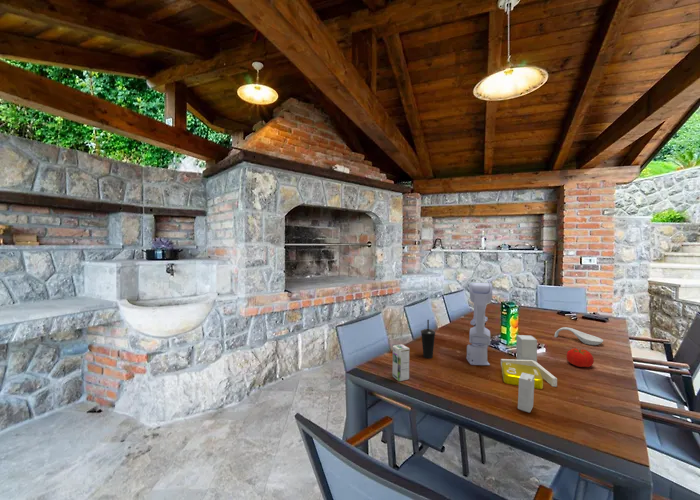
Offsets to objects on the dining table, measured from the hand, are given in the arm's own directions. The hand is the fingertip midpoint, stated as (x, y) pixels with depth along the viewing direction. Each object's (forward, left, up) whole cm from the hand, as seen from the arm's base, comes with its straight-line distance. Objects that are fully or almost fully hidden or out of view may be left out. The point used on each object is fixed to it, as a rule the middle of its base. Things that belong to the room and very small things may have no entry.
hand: (479, 335), depth 166 cm
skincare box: (0, -55, -10) cm, 56 cm away
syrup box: (-45, -35, -10) cm, 58 cm away
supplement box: (+20, -11, -10) cm, 25 cm away
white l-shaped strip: (+13, -27, -9) cm, 31 cm away
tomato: (+44, -13, -10) cm, 47 cm away
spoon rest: (+65, +24, -10) cm, 70 cm away
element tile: (+9, -31, -10) cm, 34 cm away
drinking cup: (-29, -9, -10) cm, 32 cm away
